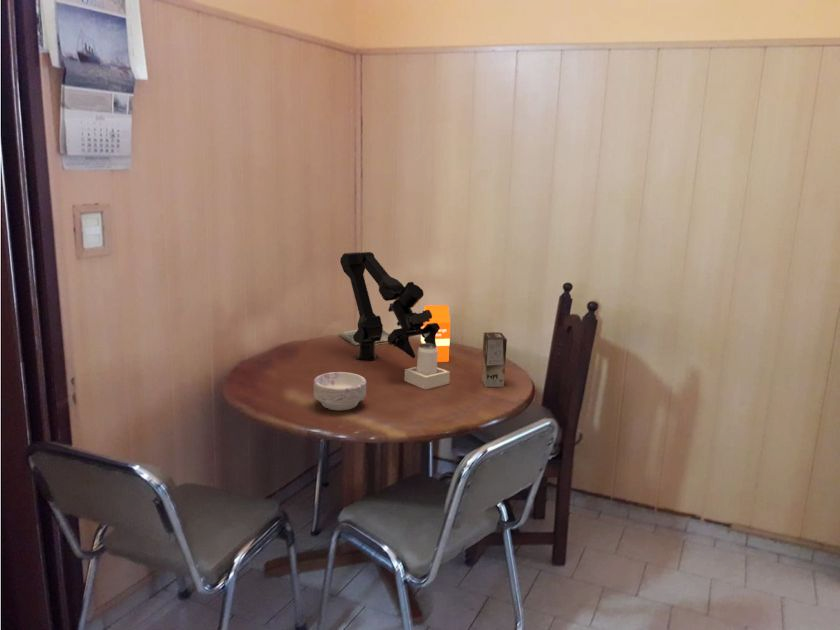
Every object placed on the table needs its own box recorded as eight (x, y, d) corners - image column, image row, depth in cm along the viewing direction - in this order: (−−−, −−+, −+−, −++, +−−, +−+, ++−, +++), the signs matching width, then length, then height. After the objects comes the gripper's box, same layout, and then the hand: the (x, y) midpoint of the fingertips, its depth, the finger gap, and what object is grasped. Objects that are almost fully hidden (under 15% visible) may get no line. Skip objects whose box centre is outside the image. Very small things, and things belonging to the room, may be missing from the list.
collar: (404, 380, 225) (404, 369, 224) (428, 375, 231) (428, 363, 230) (425, 389, 217) (425, 377, 216) (449, 383, 224) (449, 371, 223)
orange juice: (448, 361, 248) (451, 307, 243) (425, 362, 245) (427, 308, 241) (442, 355, 255) (445, 302, 250) (419, 356, 253) (421, 303, 248)
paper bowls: (358, 417, 192) (359, 390, 191) (306, 412, 195) (306, 385, 193) (371, 398, 207) (371, 373, 205) (322, 394, 209) (322, 369, 208)
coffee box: (504, 387, 222) (507, 339, 218) (484, 387, 221) (487, 339, 218) (498, 378, 231) (501, 332, 227) (480, 378, 230) (482, 331, 227)
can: (438, 383, 222) (439, 348, 219) (418, 384, 220) (419, 348, 218) (434, 377, 228) (436, 342, 225) (415, 377, 227) (416, 342, 224)
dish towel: (355, 348, 262) (356, 340, 261) (338, 337, 277) (338, 329, 276) (399, 344, 270) (399, 336, 270) (379, 333, 286) (380, 325, 285)
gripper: (394, 305, 217) (415, 347, 212) (438, 298, 229) (459, 338, 224) (378, 324, 225) (398, 364, 219) (421, 317, 237) (441, 355, 231)
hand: (425, 355), depth 223 cm, fingers open, 9 cm apart
